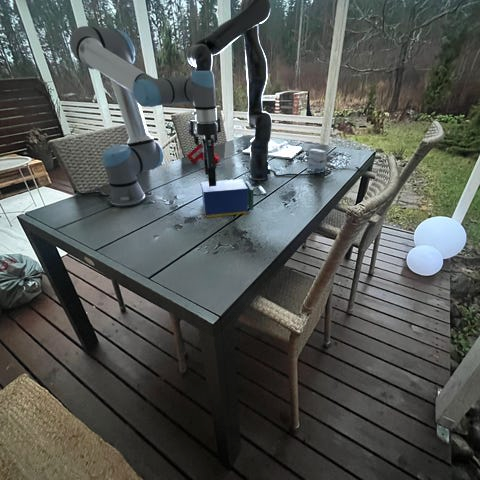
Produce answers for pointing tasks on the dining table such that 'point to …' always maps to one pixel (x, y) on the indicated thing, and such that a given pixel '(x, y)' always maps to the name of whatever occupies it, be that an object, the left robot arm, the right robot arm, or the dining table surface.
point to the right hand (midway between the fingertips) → (206, 144)
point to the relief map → (280, 150)
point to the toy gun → (200, 154)
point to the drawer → (251, 194)
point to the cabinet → (225, 198)
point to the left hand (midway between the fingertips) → (210, 179)
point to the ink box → (316, 160)
